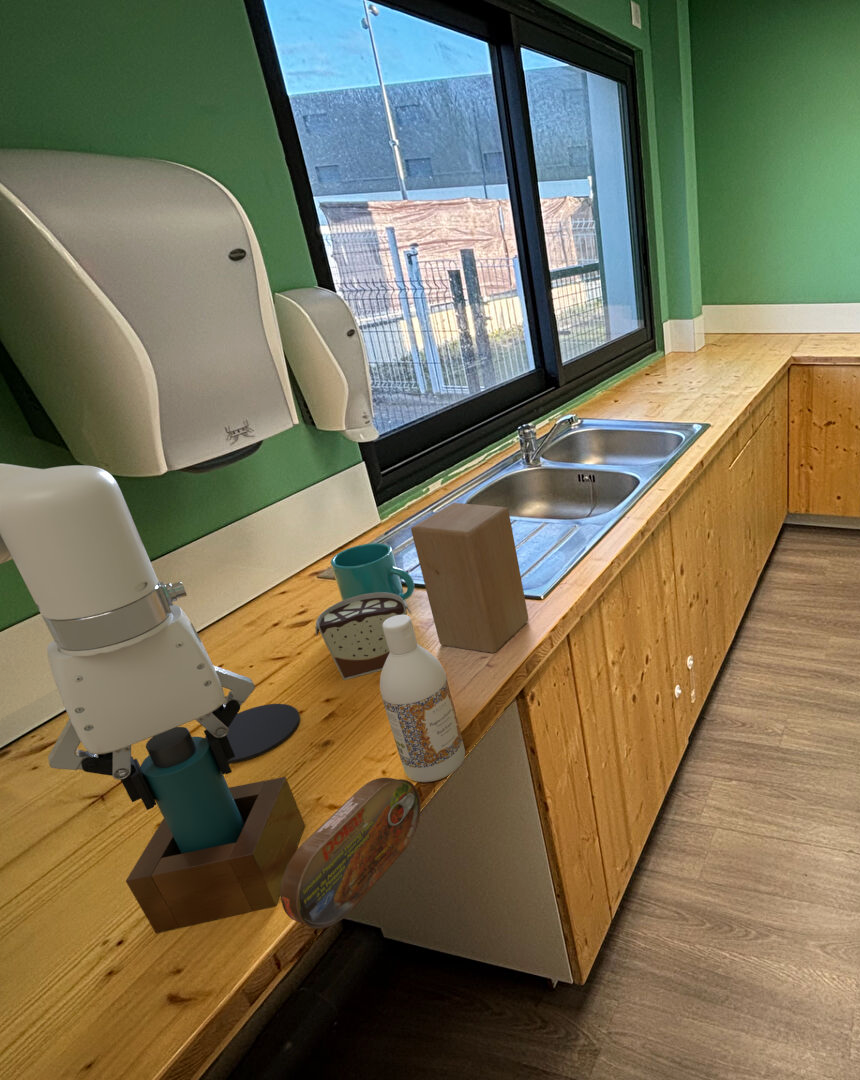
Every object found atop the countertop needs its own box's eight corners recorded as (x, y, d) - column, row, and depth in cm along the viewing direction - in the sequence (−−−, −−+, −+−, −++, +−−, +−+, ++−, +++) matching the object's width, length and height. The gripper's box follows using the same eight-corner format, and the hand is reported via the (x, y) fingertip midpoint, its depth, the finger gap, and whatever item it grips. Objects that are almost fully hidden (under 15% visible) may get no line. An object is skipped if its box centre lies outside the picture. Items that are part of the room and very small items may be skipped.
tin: (317, 950, 63) (288, 884, 59) (291, 940, 64) (261, 875, 60) (430, 823, 76) (412, 763, 72) (406, 816, 76) (388, 757, 73)
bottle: (173, 870, 66) (119, 763, 60) (196, 827, 70) (148, 725, 65) (235, 857, 67) (187, 752, 61) (254, 816, 71) (211, 715, 66)
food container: (420, 639, 109) (405, 583, 105) (423, 659, 104) (408, 600, 100) (333, 661, 105) (313, 603, 101) (331, 683, 100) (311, 623, 95)
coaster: (186, 772, 84) (184, 768, 84) (221, 715, 94) (220, 712, 94) (286, 753, 87) (284, 750, 86) (310, 700, 96) (309, 697, 96)
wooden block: (438, 645, 107) (408, 527, 99) (477, 613, 116) (453, 501, 108) (494, 654, 104) (468, 533, 96) (530, 620, 113) (509, 506, 105)
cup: (407, 630, 112) (390, 568, 107) (337, 629, 113) (318, 567, 108) (433, 601, 120) (419, 542, 115) (368, 601, 121) (351, 542, 117)
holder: (155, 933, 65) (125, 881, 62) (200, 847, 74) (175, 797, 71) (276, 906, 67) (252, 854, 64) (305, 825, 76) (285, 776, 73)
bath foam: (433, 792, 80) (390, 644, 71) (392, 773, 83) (347, 629, 74) (478, 754, 85) (444, 612, 77) (438, 737, 88) (401, 599, 80)
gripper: (221, 567, 65) (278, 721, 73) (-33, 640, 55) (65, 812, 62) (241, 594, 60) (300, 756, 68) (-34, 680, 50) (73, 861, 57)
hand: (187, 781), depth 65 cm, fingers closed on bottle, 5 cm apart
